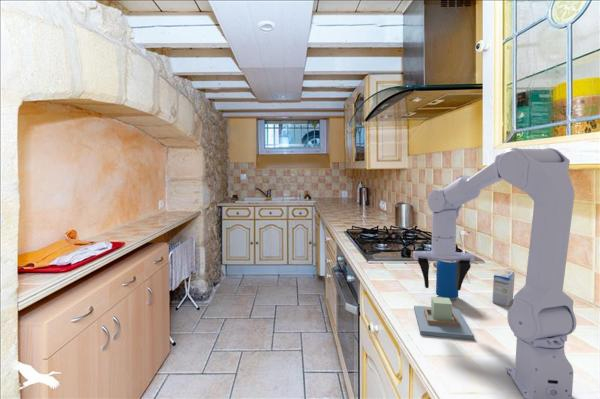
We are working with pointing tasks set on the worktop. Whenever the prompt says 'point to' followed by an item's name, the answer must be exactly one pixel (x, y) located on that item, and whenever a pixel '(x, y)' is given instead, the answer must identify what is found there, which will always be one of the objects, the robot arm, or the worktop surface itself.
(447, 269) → the beverage can
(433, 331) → the board
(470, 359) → the worktop surface
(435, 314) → the sage block
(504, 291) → the medicine box
